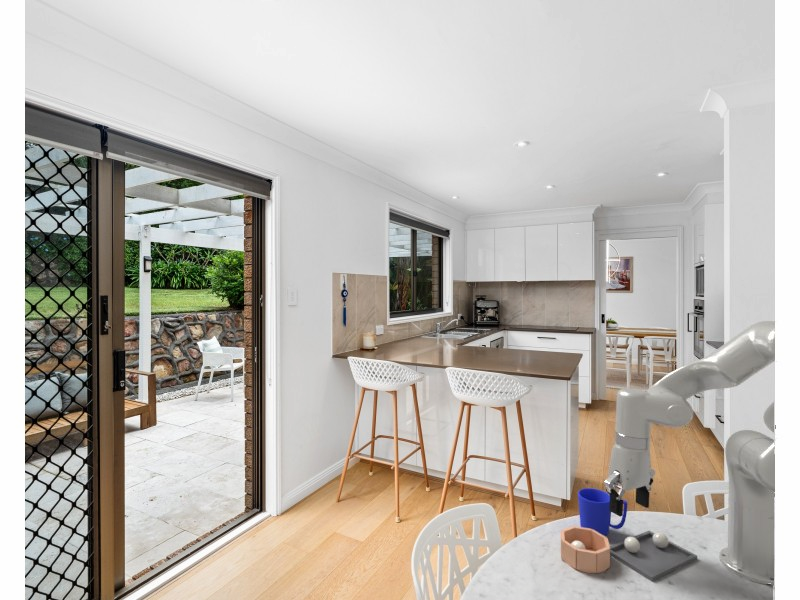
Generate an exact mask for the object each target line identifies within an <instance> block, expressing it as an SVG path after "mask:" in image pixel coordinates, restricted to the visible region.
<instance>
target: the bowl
mask: <svg viewBox="0 0 800 600" xmlns="http://www.w3.org/2000/svg"><path fill="white" fill-rule="evenodd" d="M573 541H580V542H582V543H583V544H584V545H585V548H586V550H584V549H578V548H576V547H575V546H573V545H571V543H572V542H573ZM610 546H611V545H610V542H609V539H608V537H607V536H603V535H602V534H600V533H598V532H597V531H595V530H593V529H590V528H583V527H581V526H576V525H572V526H569V527H566V528H563V529H560V558H561V559H562V561H564V563H565V564H566V565H568V566H569V567H571V568H573V569H575V570H578V571H579V572H583V573H589V574H599V573H603V572H606V570H607V569H609V568H610V567H611V556H610Z"/></svg>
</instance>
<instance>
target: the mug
mask: <svg viewBox="0 0 800 600" xmlns="http://www.w3.org/2000/svg"><path fill="white" fill-rule="evenodd" d="M577 498H578V508H579V509H578V512H579V524H580V527H583V528H590V529H593V530H595V531H597V532H598V533H600V534H602V535H603V536H605V537H607V535H608V534H609V531H610V528H612V529H614V530H619V529H621V528H623V526H624V525H625V523H626V518H627V512H628V501H626V500H625V499H622V500H623V515H622V516H621V520H620V522H619V523H618V524H611V521H612V520H611V518H612V512H611V511H610V510H609V504H610V496H609V495H608V492H607V491H603V490H601V489H596V488H592V487H588V488H582V489H579V490H578V492H577Z"/></svg>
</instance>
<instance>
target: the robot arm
mask: <svg viewBox="0 0 800 600" xmlns="http://www.w3.org/2000/svg"><path fill="white" fill-rule="evenodd" d="M775 322H776V321H772V320H763V321H758V322H756V323H753V324H751V325H749V327H747V328H745V329H744V330H743V331H741V332H740V333H739V334H737V335H735V336H734V337H732V338H731V339H730V340H728V341H727V342H725V343H724V344H723V345H721V346H720V347H718V348H717V349H715V350H714V351H712V352H711V353H710V354H708V355H706V356H705V357H703V358H700V359H697V360H695V361H693V362H691V363H689V364H686V365H684V366H682V367H679V368H677V369H674V370H673V371H671V372H669V373H668V374H666V375H665V376H663V377H662V378H661V379H659V380H658V381H657V382H654V384H652V385H651V386H650V387H649V388H648V389H647V390H646V391H645V390H643V389H638V388H630V387H627V388H620V389H619V390H618V391H617V394H616V408H615V409H616V410H615V411H616V412H615V426H614V427H615V428H614V429H615V430H614V431H615V432H614V434H615V435H614V444H613V445H612V449H611V453H610V459H609V465H608V476H607V478H606V479H605V481H604V483H603V484H604V487H605V490H606V491H605V492H606V493H608V495H609V496H610V504H609V510H610V511H611V514H612V513H613V514H614V515H616V516H618V517H621V518H622V516H623V510H624V504H623V500H624V499H622V498H623V496H624V494H625V492H629V491H632V490H635V503H636V504H637V505H640V506H642V507H644V508H646V509H647V508H650V494H651V493H650V492H651V490H652V484H653V483H654V477H655V474H656V470H655V469H653V468H652V464H651V463H652V459H651V450H650V449H651V448H650V447H651V429H652V427H651V426H652V423H653V424H655V425H656V424H657V425H660V426H665V427H670V428H681V427H685V426H687V425H688V424H690V423H691V422H692V420H693V418H694V409H693V407H692V405H691V404H690V402H689V401H688V399H690V398H691V397H693V396H695V395H698V394H700V393H702V392H706V391H711V390H723V389H729V388H734V387H738V386H739V385H741V384H742V383H744V382H746V381H747V380H749V379H750V378H751V377H753V376H754V375H756V374H758V372H760V371H761V370H764V369H765V368H766V367H768V366H769V365H771V364H772V363H774V362H776V361H775ZM763 422H764V424H765V426H766V428H767V429H768V430H769V431H771V432H772V433H773V434H775V433H774V401H773V402H771V404H769V406H768V407H767V408H766V409H765V411H764V412H763ZM775 429H776V425H775ZM774 440H775V442H776V439H773V438H771V437H770V436H768V435H766V434H764V433H762V432H759V431H757V430H753V429H752V430H751V429H742V430H738V431H735V432H733V433H732V434H731V435H730V436H729V437H728V438H727V440H726V444H725V450H724V451H725V452H724V453H725V460H726V467H727V474H728V475H727V476H728V497H727V498H728V499H727V500H728V503H727V504H728V507H727V508H728V509H727V510H728V511H727V512H728V513H727V514H728V515H727V547H725V548H722V549H721V550H720V551H719V561H720V562H721V564H722V565H723V566H724V567H725V568H727V570H728V571H730V572H732V573H733V574H735V575H737V576H739V577H740V578H743V579H746V580H748V581H750V582H754V583H756V584H757V583H758V584H760V585H765V586H767V585H766V584H768V583H771V585H770V586H771V587H772V586H773V587H775V586H774V497H775V493H774V492H775V454H774V449H775V445H774ZM619 484H620V485H619ZM617 489H619V490H618V491H616V490H617Z"/></svg>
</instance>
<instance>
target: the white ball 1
mask: <svg viewBox="0 0 800 600" xmlns="http://www.w3.org/2000/svg"><path fill="white" fill-rule="evenodd" d="M571 545H573V546H575V547H576V548H578V549H584V550H586V548H585V545H584V544H583V543H582V542H580V541H573V542H572V543H571Z"/></svg>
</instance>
